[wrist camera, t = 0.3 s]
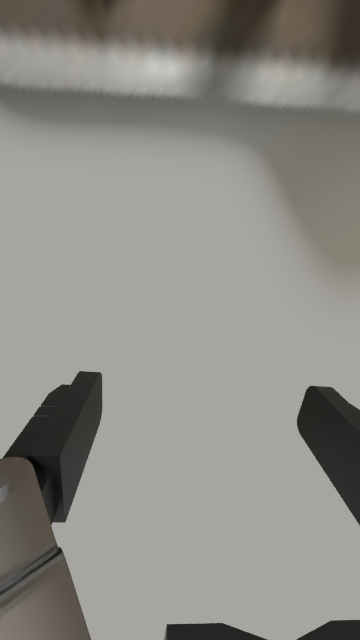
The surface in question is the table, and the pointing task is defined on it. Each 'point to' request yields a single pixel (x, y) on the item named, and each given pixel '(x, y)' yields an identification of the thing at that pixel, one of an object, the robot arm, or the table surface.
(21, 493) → the robot arm
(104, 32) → the table surface
